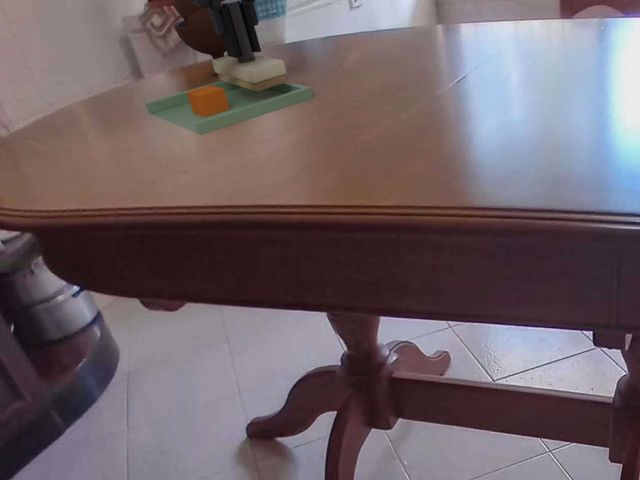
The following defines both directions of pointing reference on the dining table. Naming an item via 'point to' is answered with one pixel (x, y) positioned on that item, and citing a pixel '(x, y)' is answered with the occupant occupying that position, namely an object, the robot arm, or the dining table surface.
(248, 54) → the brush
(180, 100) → the tray
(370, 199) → the dining table surface
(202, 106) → the eraser
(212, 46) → the ice cream bowl
